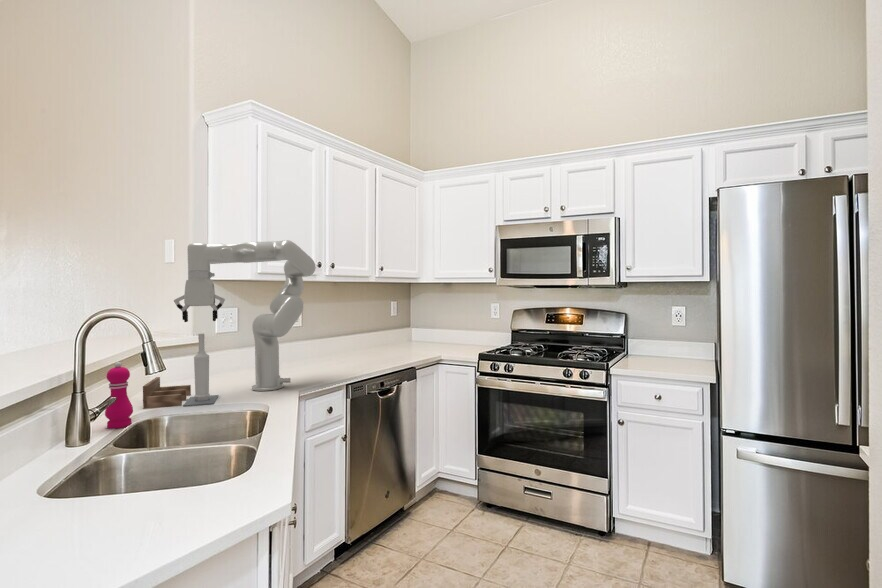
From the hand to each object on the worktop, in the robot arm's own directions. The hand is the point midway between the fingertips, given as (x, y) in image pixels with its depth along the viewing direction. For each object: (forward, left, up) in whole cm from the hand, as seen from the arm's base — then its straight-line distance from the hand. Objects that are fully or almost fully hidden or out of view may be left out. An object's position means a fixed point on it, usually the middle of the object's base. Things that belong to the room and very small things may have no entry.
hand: (200, 321), depth 177 cm
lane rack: (+12, -4, -30) cm, 33 cm away
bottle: (0, 0, -30) cm, 30 cm away
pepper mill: (+19, +27, -31) cm, 45 cm away
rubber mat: (0, 0, -30) cm, 30 cm away
